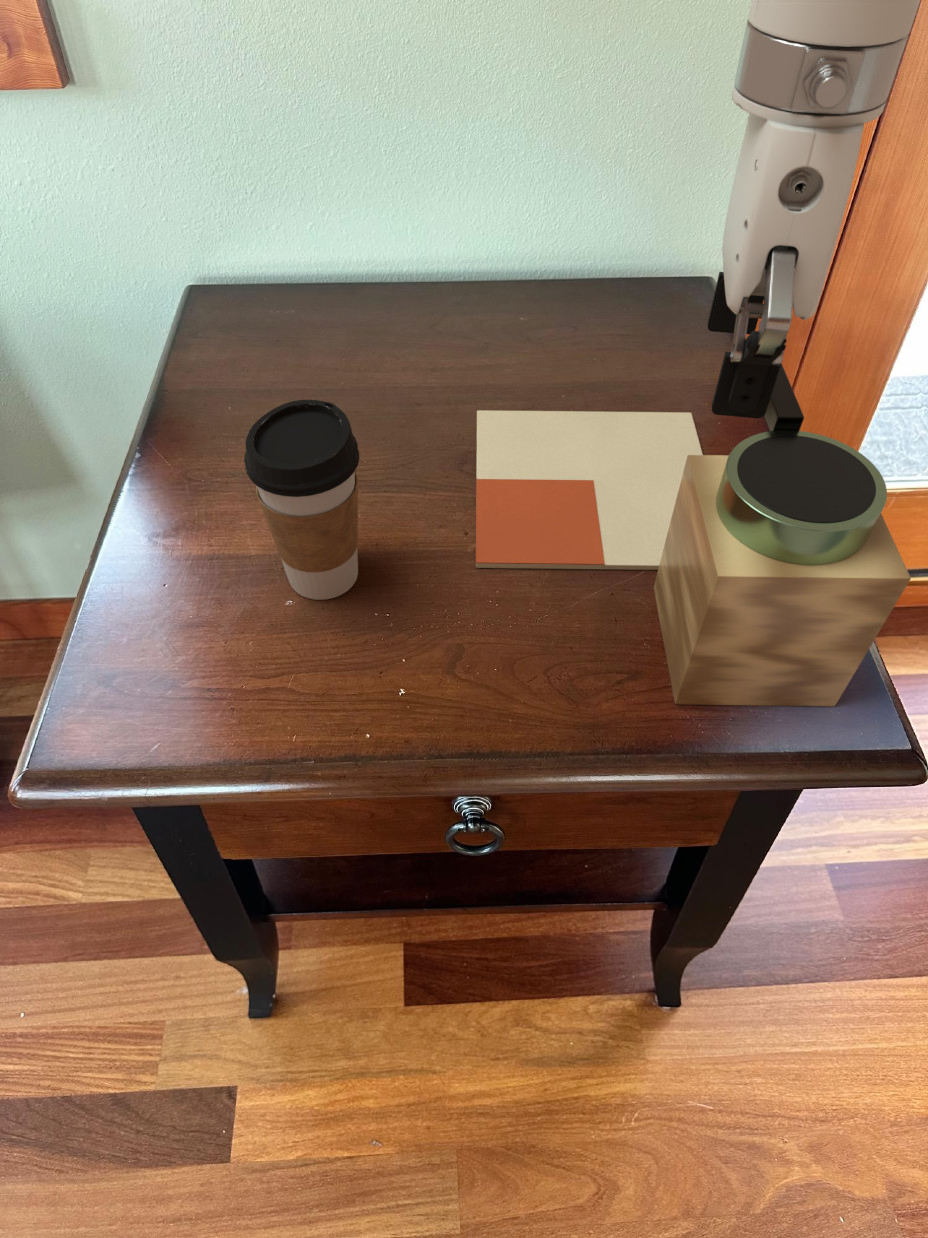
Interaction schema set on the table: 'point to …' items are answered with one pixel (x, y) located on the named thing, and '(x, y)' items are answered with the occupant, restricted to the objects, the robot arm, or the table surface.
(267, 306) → the table surface
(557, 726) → the table surface
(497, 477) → the mat
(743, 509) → the pan
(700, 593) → the block
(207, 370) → the table surface
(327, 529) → the coffee cup
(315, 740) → the table surface
